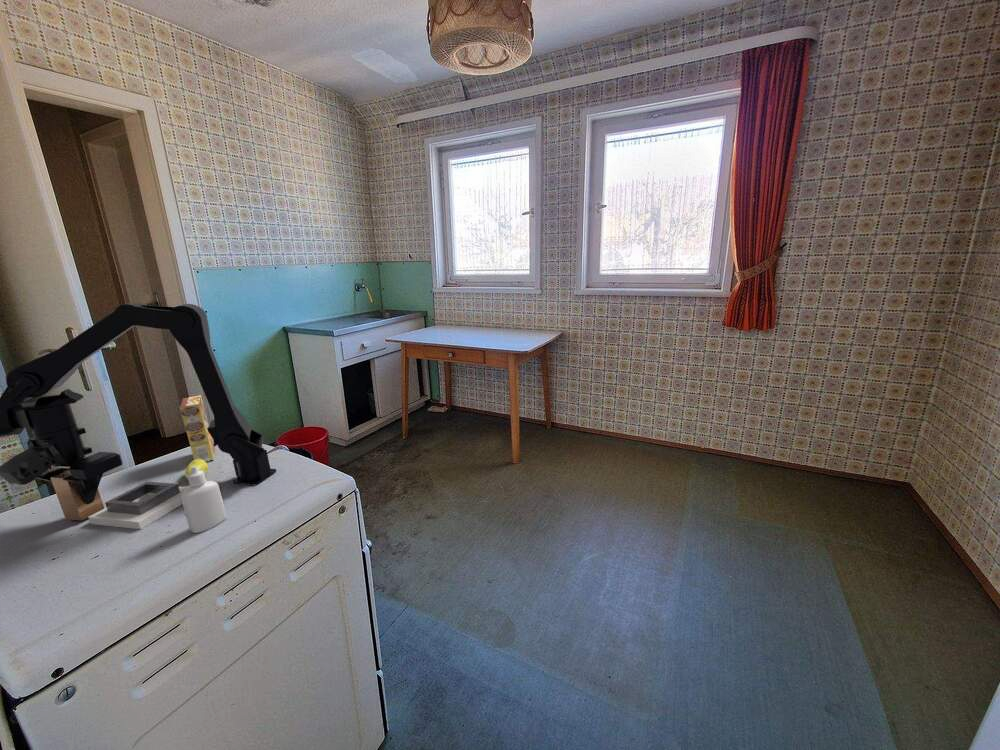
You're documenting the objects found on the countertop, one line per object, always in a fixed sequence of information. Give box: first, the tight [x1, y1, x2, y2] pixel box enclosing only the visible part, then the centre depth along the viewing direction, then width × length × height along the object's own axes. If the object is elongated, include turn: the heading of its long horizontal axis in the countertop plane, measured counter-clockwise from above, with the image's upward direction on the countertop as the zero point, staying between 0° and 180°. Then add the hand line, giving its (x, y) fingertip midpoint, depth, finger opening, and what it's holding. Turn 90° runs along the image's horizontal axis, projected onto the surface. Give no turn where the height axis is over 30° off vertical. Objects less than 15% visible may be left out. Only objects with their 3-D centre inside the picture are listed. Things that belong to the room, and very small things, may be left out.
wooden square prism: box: [50, 470, 106, 521], centre depth 80 cm, size 4×4×9 cm
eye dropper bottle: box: [181, 466, 227, 534], centre depth 75 cm, size 4×6×12 cm
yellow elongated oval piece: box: [184, 459, 209, 480], centre depth 95 cm, size 4×8×4 cm, turn 22°
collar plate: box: [87, 481, 190, 530], centre depth 82 cm, size 12×12×4 cm
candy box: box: [179, 395, 216, 462], centre depth 103 cm, size 9×4×15 cm, turn 33°
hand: (81, 502), depth 80 cm, fingers closed on wooden square prism, 4 cm apart
